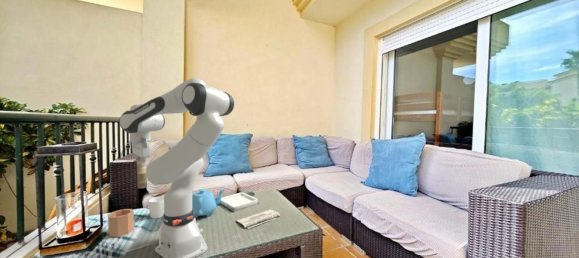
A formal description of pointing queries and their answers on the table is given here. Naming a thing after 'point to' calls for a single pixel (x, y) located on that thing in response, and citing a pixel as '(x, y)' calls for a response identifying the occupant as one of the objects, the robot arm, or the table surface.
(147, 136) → the robot arm
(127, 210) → the pot
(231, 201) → the tray
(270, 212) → the newspaper
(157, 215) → the white cup
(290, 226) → the table surface
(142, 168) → the dowel
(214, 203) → the teapot
